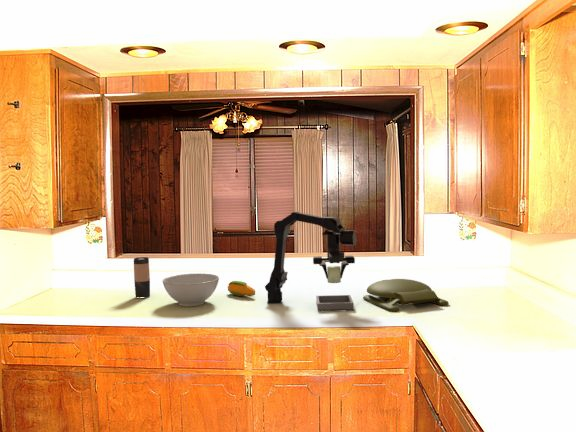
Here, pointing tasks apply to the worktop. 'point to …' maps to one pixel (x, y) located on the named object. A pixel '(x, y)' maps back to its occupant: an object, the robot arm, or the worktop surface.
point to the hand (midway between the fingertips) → (334, 278)
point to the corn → (240, 289)
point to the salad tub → (334, 274)
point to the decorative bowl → (191, 288)
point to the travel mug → (142, 277)
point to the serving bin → (335, 303)
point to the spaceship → (401, 293)
